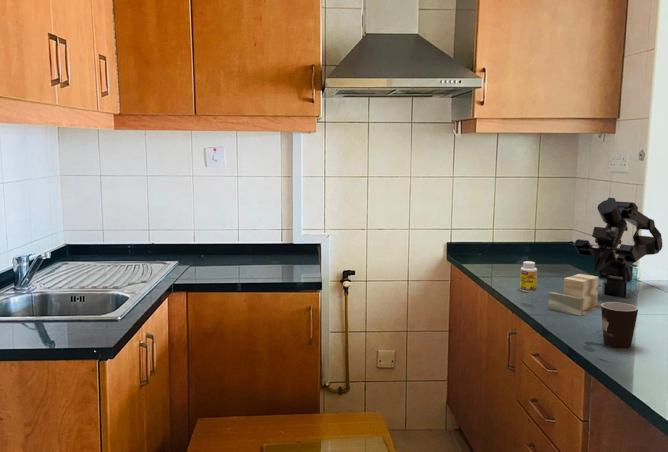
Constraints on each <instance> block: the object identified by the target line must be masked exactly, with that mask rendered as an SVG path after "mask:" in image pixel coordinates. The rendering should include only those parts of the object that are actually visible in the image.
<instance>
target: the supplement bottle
mask: <svg viewBox="0 0 668 452" xmlns="http://www.w3.org/2000/svg"><path fill="white" fill-rule="evenodd" d="M537 279H538V268H537V267H536V262H534V261H528V260H526V261H523V263H522V267H520V275H519V290H520V291H521V292H524V293H531V292H535V291H537V283H538V280H537Z"/></svg>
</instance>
